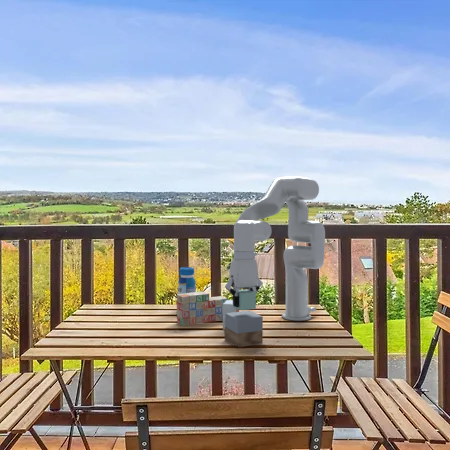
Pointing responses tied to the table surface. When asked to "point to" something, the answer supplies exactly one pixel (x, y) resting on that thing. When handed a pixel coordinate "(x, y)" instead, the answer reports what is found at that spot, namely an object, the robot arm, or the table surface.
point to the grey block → (243, 322)
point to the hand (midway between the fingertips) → (244, 305)
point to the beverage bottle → (186, 281)
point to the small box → (228, 310)
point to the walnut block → (243, 337)
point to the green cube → (246, 300)
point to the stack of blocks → (199, 308)
